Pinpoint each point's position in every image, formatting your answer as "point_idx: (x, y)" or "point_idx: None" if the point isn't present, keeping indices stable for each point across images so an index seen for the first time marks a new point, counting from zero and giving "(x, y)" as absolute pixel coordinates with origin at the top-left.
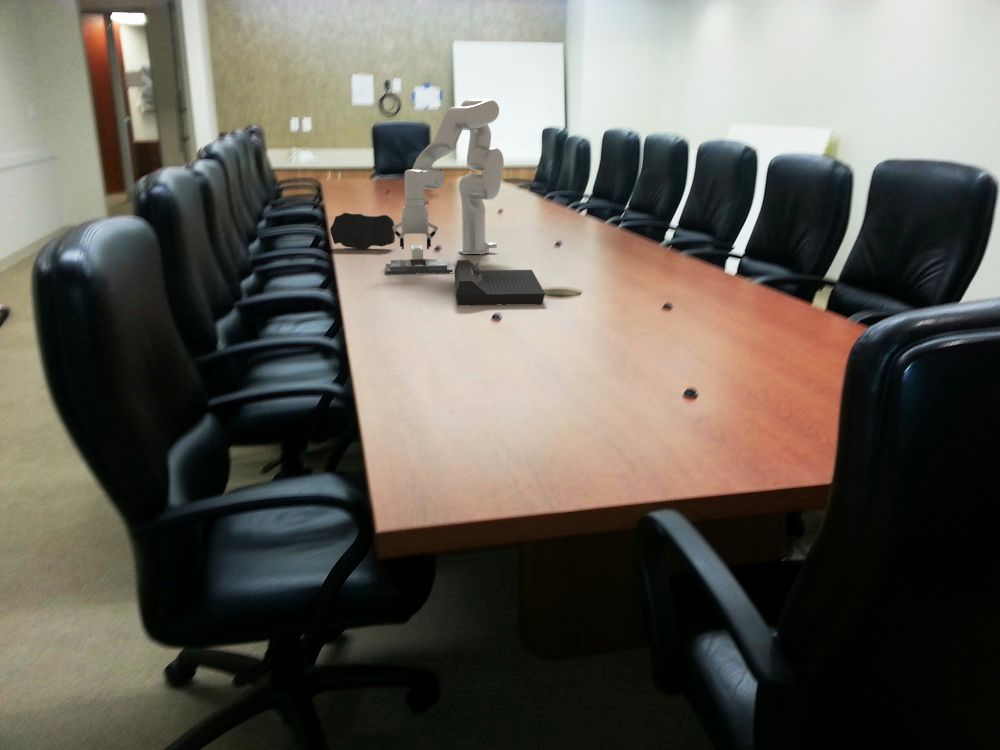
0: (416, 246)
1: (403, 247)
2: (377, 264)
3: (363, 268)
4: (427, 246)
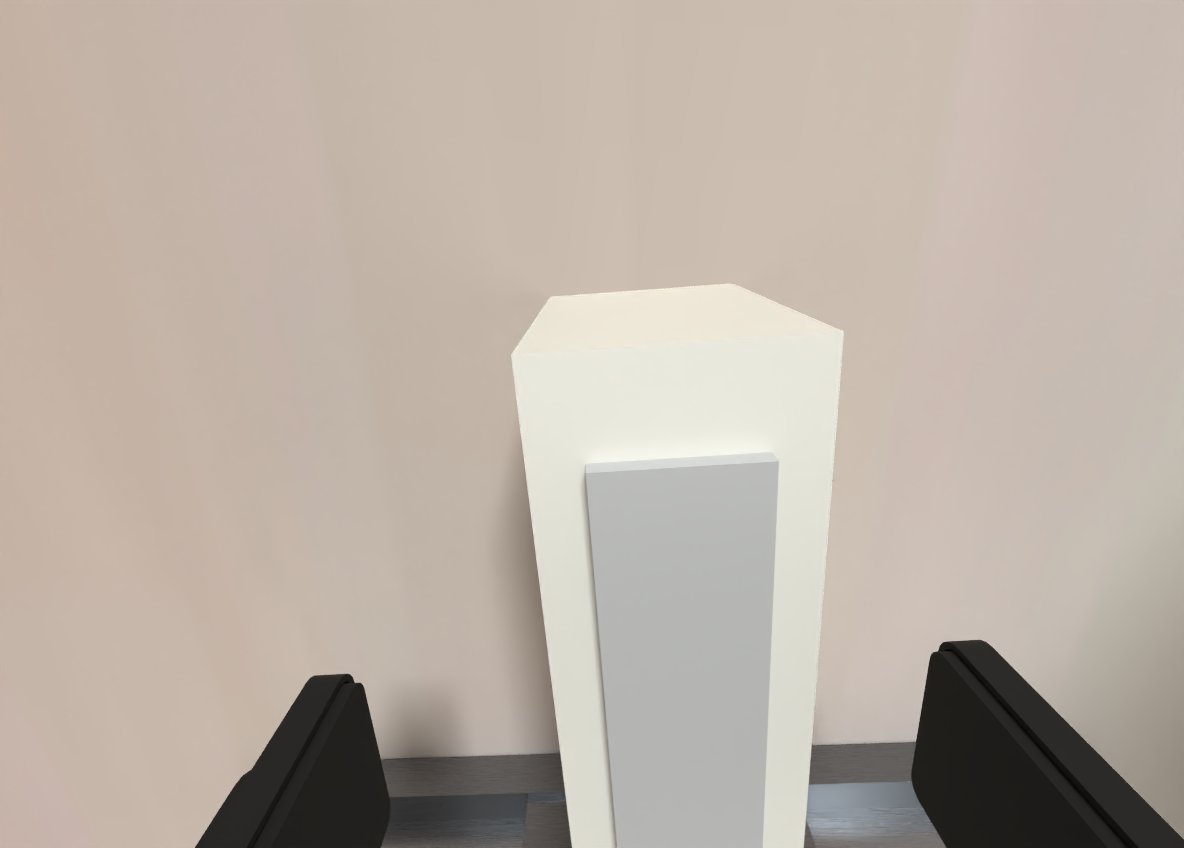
0: (680, 693)
1: (373, 846)
2: (95, 611)
3: (26, 812)
4: (952, 841)
